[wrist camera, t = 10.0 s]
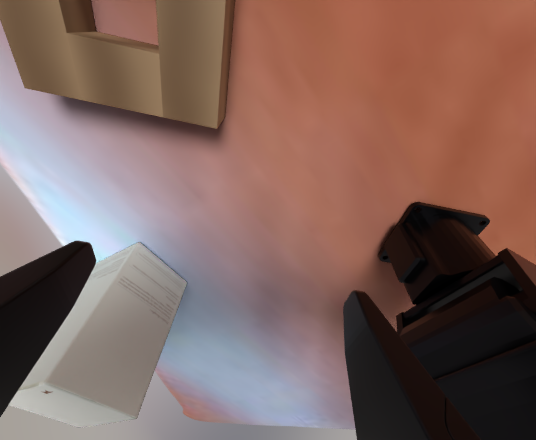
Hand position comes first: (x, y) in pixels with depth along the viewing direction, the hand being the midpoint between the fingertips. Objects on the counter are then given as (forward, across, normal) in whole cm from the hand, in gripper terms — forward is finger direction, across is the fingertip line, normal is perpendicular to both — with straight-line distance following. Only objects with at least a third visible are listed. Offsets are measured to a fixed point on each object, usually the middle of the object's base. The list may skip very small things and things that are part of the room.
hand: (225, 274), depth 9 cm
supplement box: (+12, +10, +17) cm, 23 cm away
